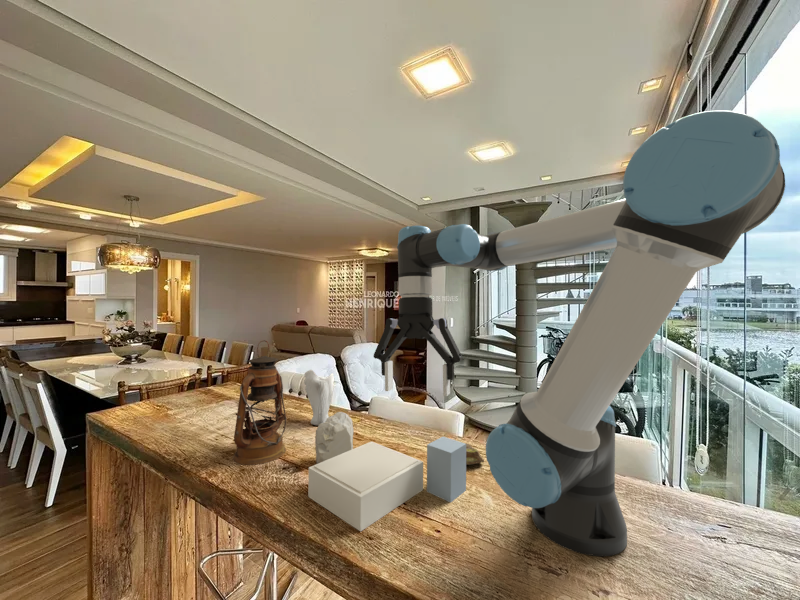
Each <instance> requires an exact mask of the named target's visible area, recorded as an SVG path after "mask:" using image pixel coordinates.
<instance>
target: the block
mask: <svg viewBox="0 0 800 600" xmlns="http://www.w3.org/2000/svg"><path fill="white" fill-rule="evenodd" d="M466 444H467V443H466ZM466 444H465V442H462V441H459V440H455V439H452V438H449V437H446V436H441V437H439V438H436V439H435V440H433V441H432V442H429V443H428V444H426V492H427V493H429V494H431V495H433V496H435V497H437V498H440V499H442V500H444V501H446V502H448V503H452V502H453V501H455V500H456V499H458V497H460V496H461V495H462V494H464V493H465V492H467V465H466Z"/></svg>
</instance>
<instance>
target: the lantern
mask: <svg viewBox="0 0 800 600" xmlns="http://www.w3.org/2000/svg"><path fill="white" fill-rule="evenodd" d="M262 342H265V343H267V347H268V348H267V354H266V355H263V356H260V355H259V354H257V357H256V358H251V359H248V363H250V366H249V367H247V368H248V370H247V375H246V376H245V377H244V379H243V380H242V382H241V384H240V386H239V390H240V392H239V400H238V407H237V412H236V413H235V415H236V421H235V429H234V433H233V441H234V445H235V446H236V449H235V452H234V454H233V456H232V460H233V462H235V463H236V464H239V465H244V466H245V465H246V466H256V465H263V464H266V463H267V464H268V463H270V462H273V461H276V460H277V459H280V458H281V457H283V456H284V454H285V453H286V451H287V450H286V446H285V445H284V444H283V443H284V442H283V437H284V436H283V435H284V432H285V430H286V425H287V420H288V418H287V412H286V409H285V403H284V394H283V393H284V384H283V378H282V376H281V374H280V372H279V371H278V369H277V366H276V362H277V361H278V360H279V359H278V358H276V357H274V356H273V357H272V356H271V357H270V356H269V351H270V345H269V342H268V341H267V340H260V343H262ZM260 343H258V344H257V349H256V350H257V351H256V352H257V353H259V345H260ZM249 388H250V393H249ZM270 400H274V407H275V411H274V412H272V411H270V410H268V411H267V410H266V409H262V408H258V407H254V406H257V405H258V404H260V403H264V402H267V401H270ZM247 401H249V402H250V401H251V402H254V403H253V404H251V405H249V403H248V402H247ZM256 411H260V412H266V413H269V414H271V415H273V416H267V415H261V414H260V416H261V417H262V418H263V419H256V420H255V418H254V414H257V415H259V413H257V412H256ZM253 413H254V414H253ZM250 416H251V417H250ZM251 419H252V420H251ZM283 421H284V426H283V430H282V433H280V432H277V431H278V430H279V428H280V426H281V425H282V423H283ZM244 427H245V428H244Z"/></svg>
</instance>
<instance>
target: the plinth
mask: <svg viewBox="0 0 800 600" xmlns="http://www.w3.org/2000/svg"><path fill="white" fill-rule="evenodd" d="M307 479H308V484H307V485H308V487H307V488H308V492H307V493H308V495H307V496H308V498H310V499H311V500H312V501H314V502H315V503H317V504H318V505H320V506H321V507H323V508H324V509H325V510H328V511H329V512H330V513H332V514H334V515H335V516H336V517H338V518H339V519H341V520H342V521H344V522H345V523H347V524H348V525H350V526H351V527H353V528H354V529H356V530H358V531H360V532H362V531H364V530H365V529H367V528H368V527H370V526H371V525H372V524H374V523H376V522H377V521H379V520H380V519H382V518H383V517H384V516H386V515H387V514H389V513H391V512H392V511H394V510H395V509H397V508H398V507H399V506H401V505H402V504H405V502H407V501H408V500H410V499H411V498H413V497H414V496H416V495H417V494H419V493H420V492H422V491H424V461H422V460H420V459H418V458H416V457H412V456H410V455H408V454H405V453H403V452H399V451H397V450H395V449H392V448H389V447H387V446H384V445H382V444H379V443H376V442H374V441H372V440H371V441H369V442H367V443H365V444H362V445H359V446H357V447H354V448H353V449H352V450H350V451H347V452H345V453H343V454H340V455H338V456H335V457H333V458H331V459H328V460H326V461H323V462H321V463H319V464H317V463H316V464H314V465H312V466H309V467H308V478H307Z"/></svg>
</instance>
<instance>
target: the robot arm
mask: <svg viewBox="0 0 800 600" xmlns="http://www.w3.org/2000/svg"><path fill="white" fill-rule="evenodd" d="M780 159H781V154H780V145H779V144H778V140H777V139H776V136H775V135H774V134H773V133H772V132H771V130H769V129H768V128H766V126H764V124H762V123H761V122H760V121H759V120H758V119H756V118H754V117H753V116H750V115H748V114H746V113H742V112H738V111H733V110H722V109H720V110H709V111H708V110H707V111H701V112H695V113H693V114H690V115H686V116H683V117H681V118H679V119H676V120H675V121H673V122H671V123H670V124H668V125H666V126H663V127H661V128H660V129H658V130H657V131H656V132H654V133H653V134H651V135H650V136H648V137H647V139H646V140H644V142H643V143H642V144H640V146H639V147H638V148H637V149H636V150H635V151H634V152H633V154H632V156H631V158H630V159H629V161H628V163H627V165H626V168H625V171H624V175H623V181H622V188H623V196H624V198H623V199H619V200H615V201H611V202H607V203H605V204H604V203H603V204H600V205H596V206H592V207H589V208H585V209H581V210H578V211H575V212H570V213H567V214H562V215H559V216H555V217H552V218H548V219H544V220H540V221H536V222H533V223H529V224H524V225H521V226H517V227H513V228H510V229H505V230H503V231H500V232H495V233H492V234H480V233H478V232H477V231H476V230H475V229H473V227H472V226H471V225H469V224H466V223H460V224H452V225H449V226H447V227H444V228H440V229H437V230H434V231H433V230H431V229H430V228H429V227H428V226H424V225H409V226H405V227H402V228H401V229H400V230H399V231H398V233H397V234H398V235H397V236H398V237H397V238H398V239H397V247H396V249H397V263H398V264H397V265H398V266H397V268H398V269H397V271H398V295H399V296H400V298H399V299H398V319H395V318H393V317H392V318H386V320H385V325H384V327H385V328H384V330H383V333H382V335H381V337H380V339H379V341H378V343H377V346H376V349H375V351H374V353H373V358H374V359H378V360H379V361H380V362H381V365H380V367H381V375H382V376H384V392H390V391H392V390H394V369H393V367H394V366H393V365H394V362H393V360H391V358H392V356H394V354H395V353H396V351H397V350H398V349H399V347H400V346H401V345H402V344H403V342H404V341H405V340H406V339H409V340H410V339H417V340H418V339H420V340H422V339H425V340H426V341H427V342H428V343H429V344H430V345H431V346H432V348H433V349H434V350H435V351H436V352H437V354H438V355H439V356H440V357H441V359H442V360H443V361H444V364H443V365H442V392H443V393H442V395H443V397H448V396H449V395H450V394H451V381H452V380H454V378H455V364H457V363H459V362H461V361H462V360H463V355H462V354H461V352H460V349H459V347H458V345H457V343H456V342H455V339H454V338H453V335H452V334H451V331H450V330H449V327H448V319H447V318H446V317H442V318H438V319H434V317H433V299H432V297H430V296H432V294H433V277H432V276H433V273H432V272H433V271H432V269H434V268H441V267H457V268H464V269H465V268H466V269H476V270H477V269H478V270H483V271H487V272H494V271H498V272H499V271H502V270H505V269H506V268H507V267H509V266H514V265H522V264H527V263H532V262H539V261H545V260H551V259H556V258H562V257H568V256H574V255H580V254H587V253H592V252H599V251H605V250H610V249H614V250H613V252H612V254H611V256H610V257H609V259H608V262H607V263H606V265H605V267H604V268H603V271H602V273H601V274H600V275H599V278H598V280H597V282H596V283H595V285H594V287H593V289H592V291H590V292H591V293H590V294H589V296H588V298H587V300H586V302H585V303H584V306H583V307H582V309H581V310H580V312H579V314H578V317H577V318H576V319H575V321H574V323H573V326H572V327H571V330H570V331H569V332H568V335H567V336H566V338H565V340H564V342H563V343H562V345H561V347H560V349H559V351H558V353H557V354H556V356H555V358H554V360H553V363H552V364H551V365H550V368H549V369H548V371H547V374H546V375H545V377H544V379H543V380H542V382H541V384H540V386H539V388H538V390H536V391H533V392H527V393H525V394H524V395H523V396H522V397H521V398H520V400H519V401H518V404H517V405H516V408H515V409H514V411H513V413H512V415H511V416H510V419H509V420H508V421H507V422H506V423H501V424H498V426H496V427H495V428H494V429H492V431H490V433H489V434H488V437H487V439H486V442H485V457H486V462H487V463H488V465H489V471H490V473H491V475H492V477H493V479H494V480H495V482H496V484H497V485H498V486H499V488H500V489H501V490H502V491H503V492H504V493H505V494H506V495H507V496H508V497H509V498H510V499H512V500H513V501H515V502H516V503H517V504H520V506H524V507H529V508H531V518H532V522H533V524H534V525H535V527H536V529H537V530H538V531H539V532H540V533H542V535H544V537H546V538H547V539H549V540H550V541H551V542H553V543H555V544H557V545H559V546H560V547H563V548H565V549H567V550H569V551H572V552H575V553H578V554H582V555H588V556H592V557H593V556H594V557H611V556H615V555H618V554H620V553H622V552H623V551H624V550H625V549H626V548H627V545H628V528H627V527H628V526H627V524H626V521H625V517H624V515H623V512H622V509H621V506H620V503H619V501H618V500H619V499H618V497H617V494H616V488H615V487H616V485H615V483H616V479H615V478H616V477H615V476H616V460H615V459H616V427H617V423H616V422H615V420H616V419H615V410H614V409H613V407H611V404H612V402H613V401H614V399H615V398H616V396H617V395H618V393H619V391H620V390H621V388H622V387H623V385H624V384H625V382H626V381H627V379H628V378H629V376H630V375H631V373H632V371H633V370H634V368H635V367H636V365H637V364H638V362H639V361H640V359H641V358H642V356H643V355H644V353H645V351H646V350H647V348H648V347H649V345H650V344H651V342H652V341H653V339H654V338H655V336H656V335H657V333H658V332H659V330H660V328H661V327H662V325H663V324H664V322H665V321H666V320H667V318H668V316H669V315H670V313H671V311H672V310H673V309H674V307H675V305H676V303H677V302H678V301H679V299H680V298H681V296H682V295H683V293H684V291H685V290H686V288H687V287H688V286H689V284H690V282H691V281H692V279H693V278H694V276H695V275H696V274H697V272H699V271H701V270H703V269H706V268H709V267H712V266H716V265H719V264H722V263H723V262H724V261H725V259H726V258H727V256H728V254H730V252H731V250H732V249H733V247H734V246H735V245H736V244H737V242H738V241H739V239H740V237H741V236H742V235H743V234H745V233H747V232H749V231H752V230H753V229H755V228H757V227H758V226H760V225H761V224H762V223H763V222H765V221H766V220H767V219H769V217H771V215H772V214H773V213H774V212H775V210H776V209H777V208H778V206H779V205H780V203H781V201H782V199H783V196H784V194H785V190H786V176H785V171H784V169H783V167H782V163H781V161H780ZM397 326H398V327H399V329H400V331H399V332H398V334H397V335H396V336H395V338H394V339H393V341H392V343H391V344H390V345H389V346H388V344H389V342H390V340H391V338H392V335H393V333H394V330H395V329H396V328H397ZM434 326H436V328H437V329H439V331H440V334H441V337H442V338H443V339H444V342H445V344H446V346H447V348H448V350H449V351H448V350H447V349H446V347H445V346H444V345H443V344H442V342H441V341H440V340H439V339H438V337H436V334H435V333H434V332H433V331H432V330H433V328H434ZM387 347H388V348H387ZM449 352H450V353H449Z"/></svg>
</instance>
